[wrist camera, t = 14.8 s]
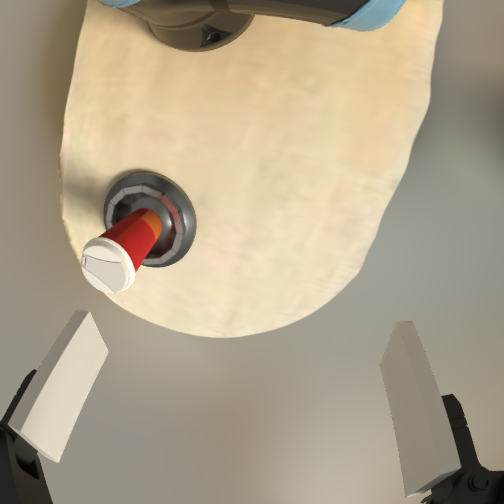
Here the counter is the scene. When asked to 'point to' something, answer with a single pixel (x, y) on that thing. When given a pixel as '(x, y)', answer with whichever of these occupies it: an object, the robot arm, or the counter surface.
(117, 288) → the paper cup
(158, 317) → the counter surface
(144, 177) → the rosette plate
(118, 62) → the counter surface
